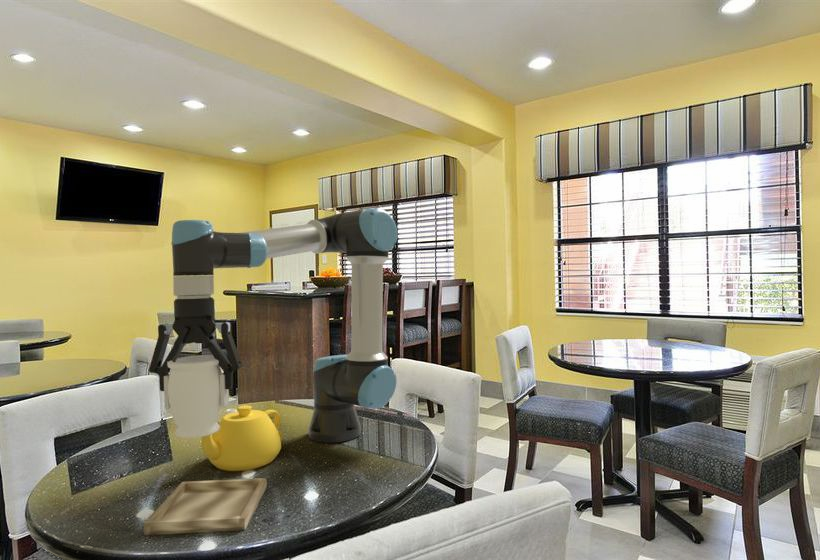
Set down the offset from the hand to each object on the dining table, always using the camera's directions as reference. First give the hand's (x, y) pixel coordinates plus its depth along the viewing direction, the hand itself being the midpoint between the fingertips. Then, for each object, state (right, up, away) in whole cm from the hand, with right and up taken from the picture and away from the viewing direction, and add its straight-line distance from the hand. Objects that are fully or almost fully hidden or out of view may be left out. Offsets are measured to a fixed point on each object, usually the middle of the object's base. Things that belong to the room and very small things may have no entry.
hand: (197, 406), depth 100 cm
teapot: (+1, -21, +25) cm, 32 cm away
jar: (0, -6, 0) cm, 6 cm away
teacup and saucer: (-12, -21, +58) cm, 63 cm away
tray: (+3, -21, -1) cm, 21 cm away
